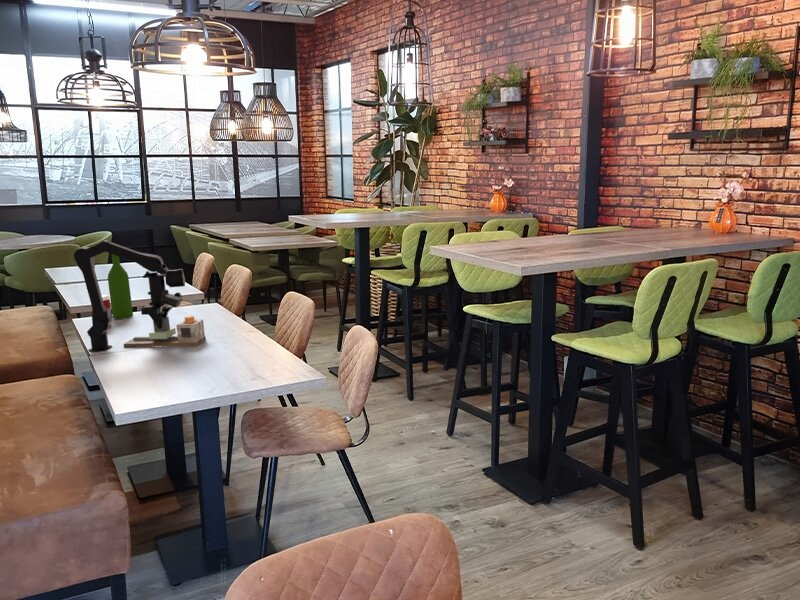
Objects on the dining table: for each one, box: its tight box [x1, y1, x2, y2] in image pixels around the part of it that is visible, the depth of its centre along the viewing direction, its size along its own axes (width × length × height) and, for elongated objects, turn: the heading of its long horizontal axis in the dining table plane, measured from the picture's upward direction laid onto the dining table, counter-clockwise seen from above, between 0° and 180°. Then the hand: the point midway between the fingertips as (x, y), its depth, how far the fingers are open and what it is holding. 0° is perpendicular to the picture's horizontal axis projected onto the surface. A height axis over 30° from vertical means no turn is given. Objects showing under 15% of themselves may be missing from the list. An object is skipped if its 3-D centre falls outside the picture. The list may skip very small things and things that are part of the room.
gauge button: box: [184, 315, 195, 324], centre depth 261 cm, size 4×4×5 cm
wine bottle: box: [107, 254, 134, 320], centre depth 312 cm, size 9×9×32 cm
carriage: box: [148, 316, 177, 339], centre depth 263 cm, size 8×7×7 cm
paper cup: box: [101, 294, 112, 329], centre depth 294 cm, size 8×8×14 cm
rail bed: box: [123, 318, 207, 348], centre depth 263 cm, size 10×29×8 cm, turn 84°
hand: (161, 327), depth 263 cm, fingers closed on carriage, 3 cm apart
